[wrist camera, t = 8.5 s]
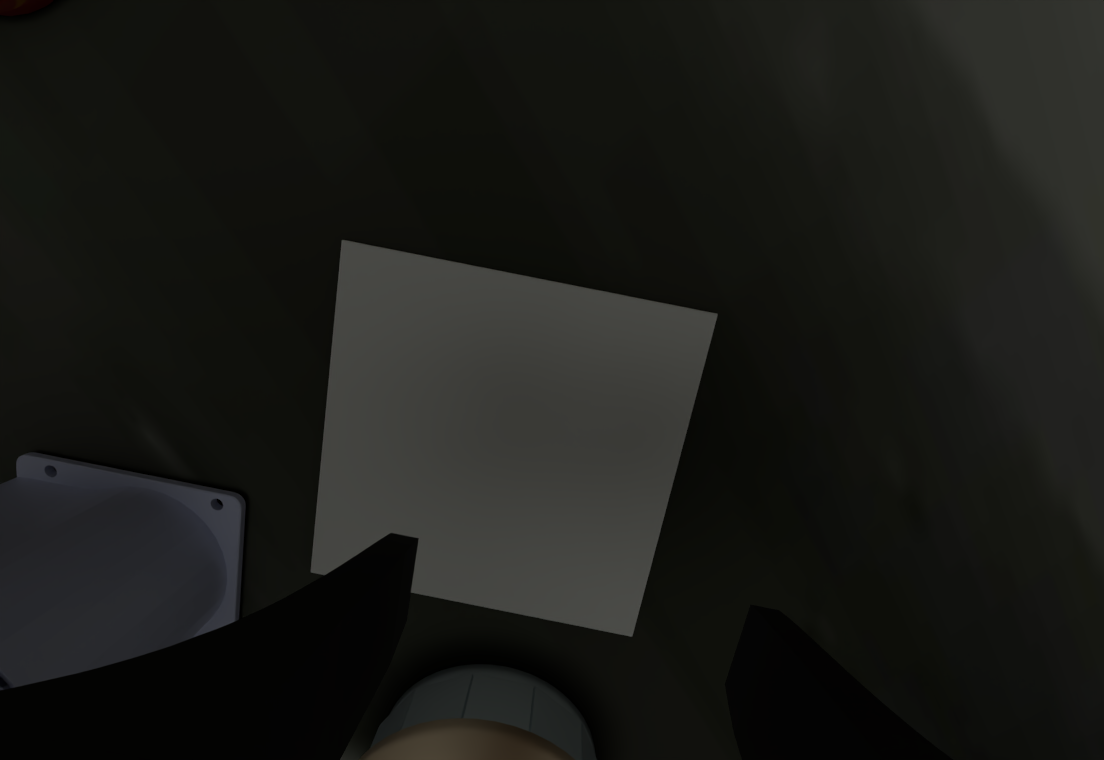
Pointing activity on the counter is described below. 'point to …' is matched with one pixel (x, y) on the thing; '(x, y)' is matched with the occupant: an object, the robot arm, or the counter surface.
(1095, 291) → the counter surface
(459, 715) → the bowl
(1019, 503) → the counter surface
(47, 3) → the canned food
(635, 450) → the mat
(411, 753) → the lid
